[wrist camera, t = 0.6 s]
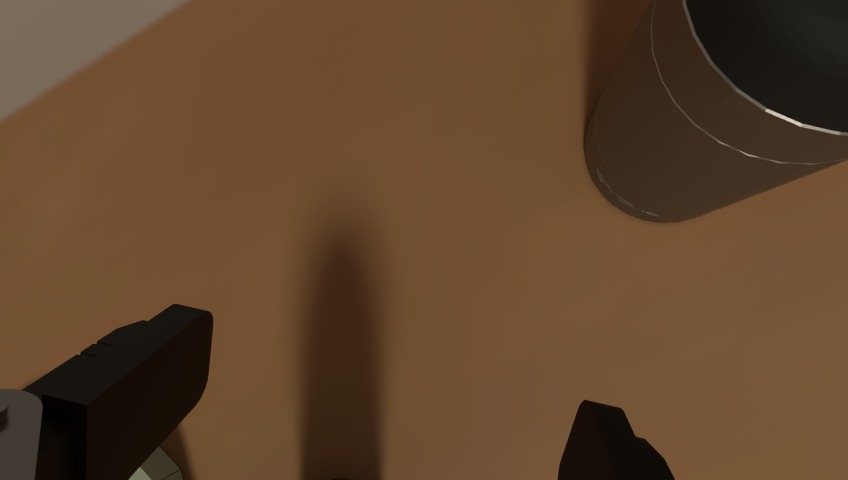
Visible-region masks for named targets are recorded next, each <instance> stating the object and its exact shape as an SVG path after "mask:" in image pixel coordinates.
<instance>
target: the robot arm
mask: <svg viewBox="0 0 848 480" xmlns="http://www.w3.org/2000/svg"><path fill="white" fill-rule="evenodd" d="M584 154H585V160H586V166H587V169H588V171H589V174H590V176H591V179H592V181H593V182H594V184H595V185H596V187H597V188H598V190H599V191H600V193H601V194H602V195H603V196H604V197H605V198H606V199H607V200H608V201H609V202H610V203H611V204H612V205H614V206H615V207H617V208H618V209H620V210H622V211H623V212H625V213H627V214H629V215H631V216H634V217H637V218H639V219H642V220H646V221H653V222H659V223H667V222H680V221H684V220H688V219H693V218H696V217H699V216H701V215H704V214H707V213H709V212H712V211H715V210H717V209H720V208H723V207H726V206H729V205H731V204H734V203H736V202H739V201H742V200H744V199H747V198H750V197H752V196H755V195H757V194H760V193H763V192H765V191H768V190H770V189H773V188H776V187H778V186H781V185H784V184H786V183H789V182H791V181H794V180H797V179H799V178H802V177H805V176H807V175H810V174H812V173H815V172H818V171H820V170H823V169H826V168H828V167H831V166H833V165H836V164H839V163H841V162H844V161H847V160H848V0H652V1H651V3H650V5H649V6H648V8H647V10H646V12H645V14H644V16H643V18H642V20H641V22H640V24H639V26H638V28H637V29H636V31H635V33H634V35H633V37H632V39H631V41H630V43H629V45H628V47H627V49H626V51H625V53H624V54H623V56H622V58H621V60H620V62H619V64H618V66H617V68H616V70H615V72H614V74H613V76H612V77H611V79H610V81H609V83H608V85H607V87H606V88H605V90H604V92H603V94H602V96H601V98H600V100H599V102H598V104H597V106H596V108H595V110H594V112H593V114H592V116H591V118H590V120H589V123H588V126H587V130H586V133H585V142H584ZM212 331H213V316H212V314H211V312H209V311H205V310H201V309H196V308H192V307H188V306H183V305H179V304H173V305H171V306H170V307H168V308H167V309H165V310H164V311H162V312H161V313H159V314H158V315H156V316H155V317H154V318H152V319H151V320H149V321H144V320H142V321H139V322H136V323H133V324H130V325H127V326H123V327H120V328H117V329H116V330H114V331H112V332H111V333H109V334H108V335H106V336H105V337H103V338H102V339H100V340H99V341H97V344H92V345H91V346H89V347H88V348H86V349H85V350H83V351H82V352H81V354H80V355H75V356H74V357H72V358H71V359H69V360H68V361H66V362H65V363H63V364H61V365H60V366H58V367H57V368H55V369H54V370H52V371H51V372H49V373H48V374H46V375H44V376H43V377H41V378H40V379H38V380H37V381H35V382H34V383H32V384H30V385H29V386H27V387H26V388H24V389H23V390H14V389H0V480H129V478H130V477H131V476H132V475H133V474H134V473H135V472H136V471H137V470H138V469H139V467H140V466H141V465H142V464H143V463H144V462H145V461H146V460H147V459H148V458H149V456H150V455H151V454H152V453H153V452H154V451H155V450H156V449H157V448H158V446H159V445H160V444H161V443H162V442H163V441H164V440H165V439H166V438H167V437H168V435H169V434H170V433H171V432H172V431H173V430H174V429H175V428H176V427H177V426H178V424H179V423H180V422H181V421H182V420H183V419H184V418H185V417H186V416H187V415H188V413H189V412H190V411H191V410H192V409H193V408H194V407H195V406H196V404H197V403H198V402H199V400H200V398H201V396H202V394H203V392H204V390H205V387H206V384H207V380H208V374H209V364H210V353H211V342H212ZM558 480H675V479H674V477H673V475H672V473H671V471H670V469H669V467H668V465H667V463H666V461H665V459H664V458H663V457H662V456H661V455H660V454H659V453H658V452H657V451H656V450H655V449H654V448H653V447H652V446H651V445H650V444H649V443H648V442H647V441H646V440H645V439H643V438H639V437H636V436H635V434H634V432H633V430H632V428H631V426H630V424H629V422H628V419H627V417H626V415H625V413H624V411H623V410H622V409H621V408H618V407H614V406H610V405H605V404H601V403H597V402H592V401H588V400H584V401H583V402H582V403H581V404H580V406H579V408H578V411H577V414H576V417H575V420H574V423H573V426H572V429H571V432H570V435H569V438H568V441H567V444H566V447H565V450H564V453H563V456H562V459H561V462H560V466H559V473H558Z"/></svg>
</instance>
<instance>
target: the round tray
mask: <svg viewBox="0 0 848 480" xmlns="http://www.w3.org/2000/svg"><path fill="white" fill-rule="evenodd" d="M129 480H183V477H182V473H181V470H180V468H179V467H178V466H177V465H176V464H175V463H174V462H173V461H172V460H171V459H170V457H169V456H168V455H167V454H166V453H165V452H164V451H163V450H162V449H161V448H160V447H159V446H158V448H157V449H156V450H155V451H154V452H153V453H152V454H151V455H150V456H149V458H148V459H147V460H146V461H145V462H144V463H143V464H142V465H141V466H140V467H139V469H138V470H137V471H136V472H135V473H134V474H133V475H132V476H131V477H130V478H129Z"/></svg>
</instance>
